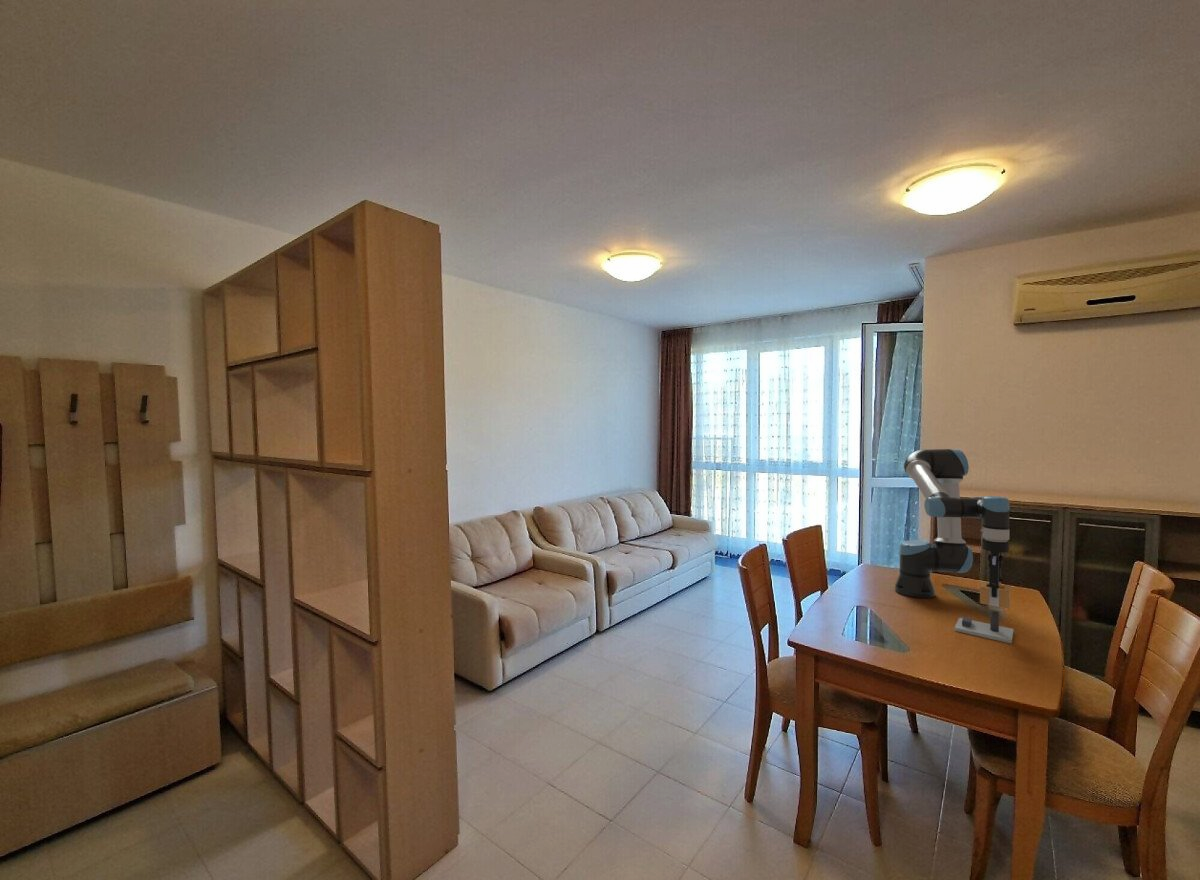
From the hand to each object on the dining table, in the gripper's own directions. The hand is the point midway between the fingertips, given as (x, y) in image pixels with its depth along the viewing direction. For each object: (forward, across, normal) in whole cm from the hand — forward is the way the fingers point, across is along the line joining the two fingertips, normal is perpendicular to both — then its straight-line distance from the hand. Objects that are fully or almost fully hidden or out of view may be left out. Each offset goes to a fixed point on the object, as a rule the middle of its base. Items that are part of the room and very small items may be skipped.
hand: (995, 602), depth 175 cm
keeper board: (+12, 0, -3) cm, 12 cm away
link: (0, 0, 0) cm, 0 cm away
